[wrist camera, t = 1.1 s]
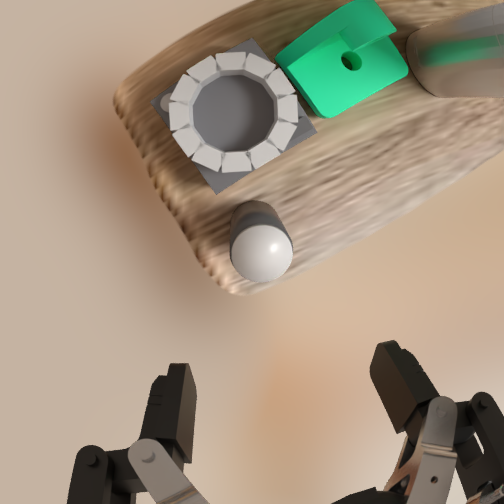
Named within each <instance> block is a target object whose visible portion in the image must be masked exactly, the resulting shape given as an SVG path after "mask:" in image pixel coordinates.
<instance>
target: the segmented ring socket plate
mask: <svg viewBox="0 0 504 504" xmlns="http://www.w3.org/2000/svg"><path fill="white" fill-rule="evenodd" d="M275 66H276V65H275V64H273V63H271V61H270V60H269V59H268V57H267V56H266V55H265V53H264V52H263V51H262V49H261V48H260V47H259V45H258V44H257V43H256V42H255V40H254V39H253V38H251V39H249V40H247V41H245V42H243V43H241V44H239V45H237V46H235V47H233V48H231V49H229V50H228V51H226V52H224V53H218V54H216V57H215V58H213V57H212V55H210V56H209V57H207V58H205V59H204V60H202V61H201V62H199V63H197V64H196V65H194V66H193V67H191V68H189V69H188V70H186V71H187V72H188V75H185V74H183V75H182V77H181V79H180V80H179V81H177V82H176V83H175V84H173V85H172V86H170V87H169V88H168V89H166V90H165V91H163V92H162V93H161V94H159V95H158V96H157V97H155V98H154V99H153V100H151V101H150V102H151V104H152V105H153V107H154V108H155V109H156V111H157V112H158V114H159V115H160V116H161V118H162V119H163V121H164V122H165V123H166V125H167V126H168V128H169V129H170V131H171V132H172V133H173V134H172V135H173V137H174V138H175V140H176V141H177V142H178V144H179V145H180V147H181V148H182V150H183V151H184V152H185V154H186V155H187V157H190V159H191V160H192V161H193V163H194V164H195V166H196V167H197V168H198V170H199V171H200V173H201V174H202V175H203V177H204V178H205V180H206V181H207V183H208V184H209V185H210V187H211V188H212V190H213V191H214V192H215V194H216V195H217V194H218V193H220V192H221V191H223V190H224V189H226V188H227V187H229V186H230V185H232V184H233V183H235V182H237V181H238V180H240V179H241V178H243V177H244V176H246V175H247V174H249V173H251V172H252V171H254V170H255V169H257V168H259V167H261V166H262V165H264V164H265V163H267V162H269V161H270V160H272V159H274V158H275V157H277V156H279V155H280V154H281V153H283V152H285V151H286V150H288V149H290V148H291V147H293V146H295V145H297V144H298V143H300V142H302V141H303V140H305V139H307V138H309V137H310V136H312V135H314V134H316V133H317V131H316V129H315V128H314V126H313V124H312V123H311V121H310V119H309V118H308V116H307V115H306V113H305V111H304V110H303V108H302V107H301V105H300V104H299V102H298V100H297V95H294V94H293V92H295V89H294V88H293V86H292V85H291V83H290V82H289V81H288V79H287V78H286V76H285V75H284V73H283V72H282V71H281V69H280V68H278V69H276V68H275Z"/></svg>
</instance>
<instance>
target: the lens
mask: <svg viewBox="0 0 504 504" xmlns="http://www.w3.org/2000/svg"><path fill="white" fill-rule="evenodd" d="M292 255H293V245H292V241H291V239H290V237H289V235H288V233H287V231H286V229H285V227H284V226H283V224H282V222H281V220H280V218H279V216H278V215H277V213H276V211H275V210H274V209H273V208H272V207H271V206H270V205H269V204H267V203H265V202H262V201H249V202H246V203H244V204H242V205H240V206H239V207H238V208H237V209H236V210H235V211H234V213H233V215H232V217H231V222H230V259H231V262H232V264H233V266H234V268H235V269H236V271H237V272H238V273H239V274H240V275H241V276H242V277H244V278H246V279H248V280H250V281H254V282H268V281H272V280H274V279H276V278H278V277H280V276H281V275H282V274H283V273H284V272H285V271H286V270H287V269H288V267H289V265H290V263H291V261H292Z"/></svg>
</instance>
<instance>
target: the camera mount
mask: <svg viewBox="0 0 504 504" xmlns="http://www.w3.org/2000/svg"><path fill="white" fill-rule="evenodd" d="M396 31H397V30H396V28H395V27H394V25H393V24H392V23H391V21H390V20H389V19H388V17H387V16H386V15H385V13H384V12H383V11H382V10H381V8H380V7H379V6H378V5H377V3H376V2H375V1H374V0H354V1H352V2H349V3H347V4H345V5H343V6H342V7H340V8H338V9H337V10H335V11H334V12H332V13H331V14H329V15H328V16H327V17H325V18H324V19H322V20H321V21H319V22H318V23H317V24H315V25H314V26H313V27H311V28H310V29H308V30H307V31H306V32H304V33H303V34H302V35H301V36H299V37H298V38H297V39H295V40H294V41H293V42H292V43H290V44H289V45H288V46H287V47H285V48H284V49H283V50H282V51H281V52H279V53H278V54H277V55H276V57H275V61H276V62H277V63H278V64H279V65H280V67H281V68H282V69H283V70H284V72H285V73H286V74H287V76H288V77H289V78H290V79H291V81H292V82H293V83H294V85H295V86H296V87H297V89H298V90H299V91H300V93H301V94H302V96H303V97H304V98H305V100H306V101H307V103H308V104H309V105H310V107H311V108H312V110H313V111H314V113H315V114H316V115H317V116H318V117H320V118H331V117H335V116H336V115H338V114H340V113H341V112H343V111H345V110H346V109H348V108H350V107H351V106H353V105H355V104H356V103H358V102H360V101H362V100H363V99H365V98H367V97H369V96H370V95H372V94H374V93H376V92H377V91H379V90H381V89H383V88H385V87H386V86H388V85H390V84H392V83H394V82H396V81H398V80H400V79H401V78H403V77H405V76H407V74H408V66H407V64H406V62H405V61H404V59H403V58H402V56H401V54H400V53H399V51H398V50H397V48H396V47H395V45H394V44H393V42H392V41H391V39H390V38H389V36H388V35H390V34H392V33H394V32H396ZM341 57H344V58H346V59H348V60H349V61H350V63H351V65H352V70H349V69H347V68H346V67H345V66H344V65H343V63H342V61H341Z"/></svg>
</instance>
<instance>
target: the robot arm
mask: <svg viewBox="0 0 504 504" xmlns="http://www.w3.org/2000/svg"><path fill="white" fill-rule="evenodd" d="M406 54H407V59H408V62H409V65H410V68H411V70H412V72H413V73H414V75H415V77H416V78H417V80H418V81H419V83H420V84H421V85H422V86H423V87H424V88H425V89H426V90H427V91H429V92H430V93H431V94H433V95H435V96H437V97H441V98H455V97H489V98H504V3H499V4H496V5H491V6H487V7H484V8H480V9H476V10H473V11H469V12H466V13H463V14H460V15H457V16H454V17H451V18H448V19H445V20H442V21H439V22H437V23H434V24H431V25H429V26H426V27H424V28H422V29H419V30H417V31H415V32H413V33H412V34H411V35H409V37H408V39H407V43H406ZM370 376H371V379H372V382H373V383H374V386H375V388H376V390H377V392H378V394H379V396H380V398H381V400H382V403H383V405H384V407H385V409H386V411H387V413H388V416H389V418H390V420H391V422H392V424H393V427H394V429H395V431H396V433H397V434H398V433H401V432H404V431H406V433H407V436H406V438H405V440H404V444H403V447H402V450H401V453H400V456H399V459H398V462H397V464H396V467H395V470H394V472H393V474H392V476H391V477H390V479H389V480H388V482H387V484H386V486H385V487H384V490H383V491H377V490H376V487H373V488H370V489H367V490H364V491H361V492H357V493H354V494H350V495H348V496H346V497H344V498H342V499H340V500H338V501H336V502H334V503H332V504H446V500H447V497H448V494H449V490H450V486H451V482H452V478H453V474H454V470H455V468H456V470H457V473H458V475H459V478H460V481H461V484H462V486H463V489H464V492H465V495H466V498H467V503H466V504H504V416H503V414H502V412H501V411H500V409H499V407H498V406H497V404H496V402H495V401H494V399H493V398H492V396H491V395H489V394H488V393H485V392H478V393H476V394H475V395H474V396H473V398H472V399H471V400H470V401H464V402H454V401H453V400H452V399H450V398H448V397H445V396H440V395H439V393H438V392H437V390H436V389H435V387H434V386H433V384H432V382H431V381H430V379H429V378H428V376H427V375H426V373H425V372H424V371H423V369H422V367H421V365H419V362H418V361H417V359H416V358H415V357H414V355H413V354H411V353H410V352H409V351H407V350H406V349H401V348H400V346H399V345H398V343H397V342H396V341H394V340H391V341H387V342H383V343H379V344H378V345H377V347H376V350H375V353H374V356H373V359H372V362H371V365H370ZM149 395H150V397H149V399H148V403H147V404H148V405H147V407H146V411H145V415H144V420H143V425H142V429H141V434H140V437H139V439H138V440H137V441H136V442H135V443H133V444H132V445H131V447H129V448H127V449H122V450H114V451H104V450H103V449H102V448H100V447H98V446H94V445H88V446H85V447H83V448H81V449H80V450H79V452H78V453H77V455H76V459H75V464H74V468H73V473H72V478H71V483H70V488H69V493H68V500H67V504H136V493H139V492H147V491H148V492H149V493H150V495H151V496H152V498H153V499H154V501H155V502H156V504H209V503H208V502H207V500H206V499H205V498H204V497H203V496H202V495H201V494H200V493H199V492H198V490H197V489H196V488H195V487H194V486H193V485H192V483H191V482H190V481H189V480H188V479H187V477H186V476H185V475H184V474H183V467H184V463H192V449H193V435H194V422H195V411H196V400H197V394H196V386H195V382H194V379H193V376H192V372H191V369H190V366H189V364H188V363H179V364H178V363H171V364H170V365H169V369H168V374H167V376H163V375H161V376H160V375H159V376H158V377H157V379H156V380H155V381H154V383H153V384H152V386H151V390H150V394H149ZM475 432H476V434H477V436H478V437H479V440H480V442H481V444H482V446H483V449H484V454H483V453H482V451H481V449H480V447H479V444H478V443H477V440H476V438H475V436H474V433H475Z"/></svg>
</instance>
